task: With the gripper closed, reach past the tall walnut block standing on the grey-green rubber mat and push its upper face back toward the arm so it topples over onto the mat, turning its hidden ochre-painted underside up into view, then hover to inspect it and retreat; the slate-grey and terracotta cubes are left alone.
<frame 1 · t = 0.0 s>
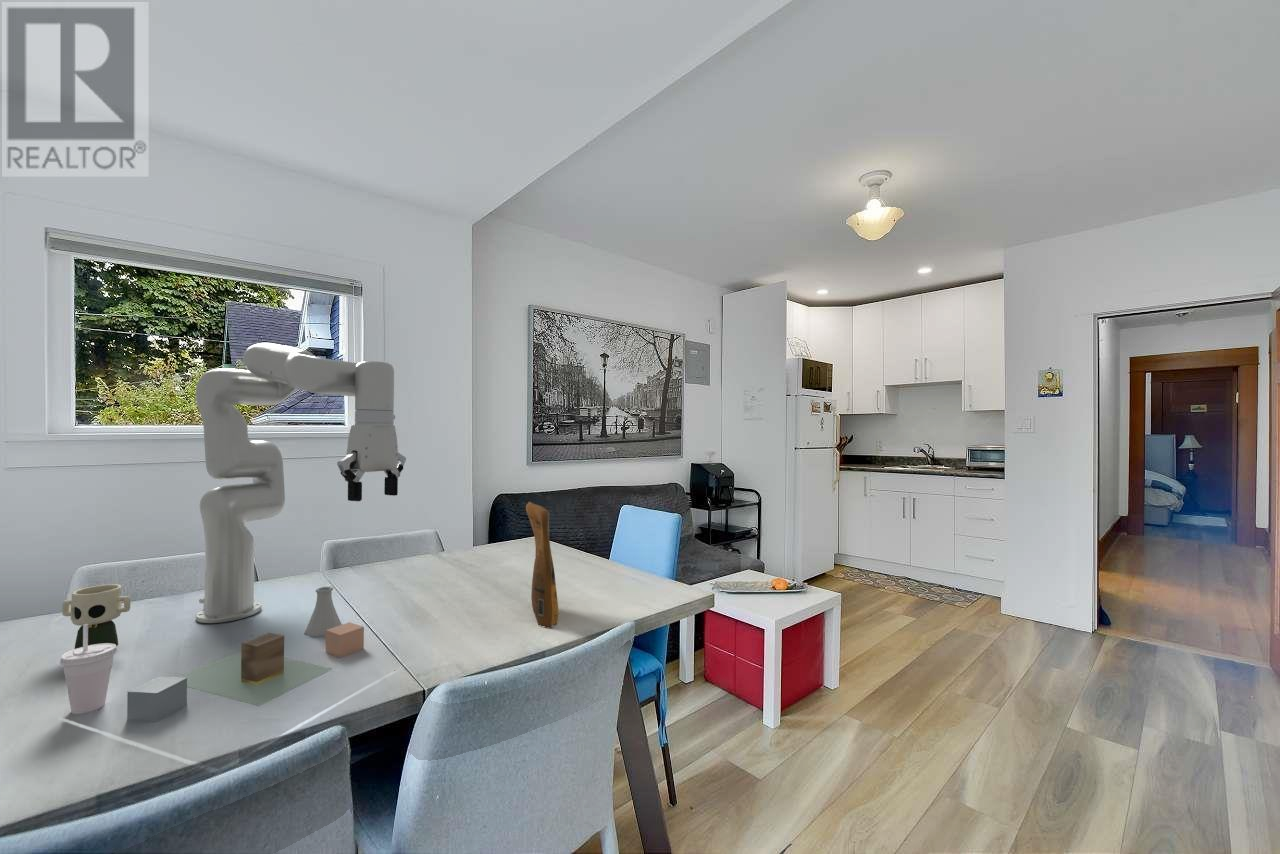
hand: (373, 497, 114), 31 cm above the table, fingers open, 9 cm apart
walnut block: (262, 677, 96), resting on rubber mat
terracotta block: (344, 652, 108), on the table
rubber mat: (251, 676, 97), on the table
smoothie: (88, 711, 86), on the table
character mug: (96, 654, 106), on the table
slate block: (157, 715, 84), on the table
flask: (323, 633, 118), on the table
pancake mix bag: (542, 617, 129), on the table
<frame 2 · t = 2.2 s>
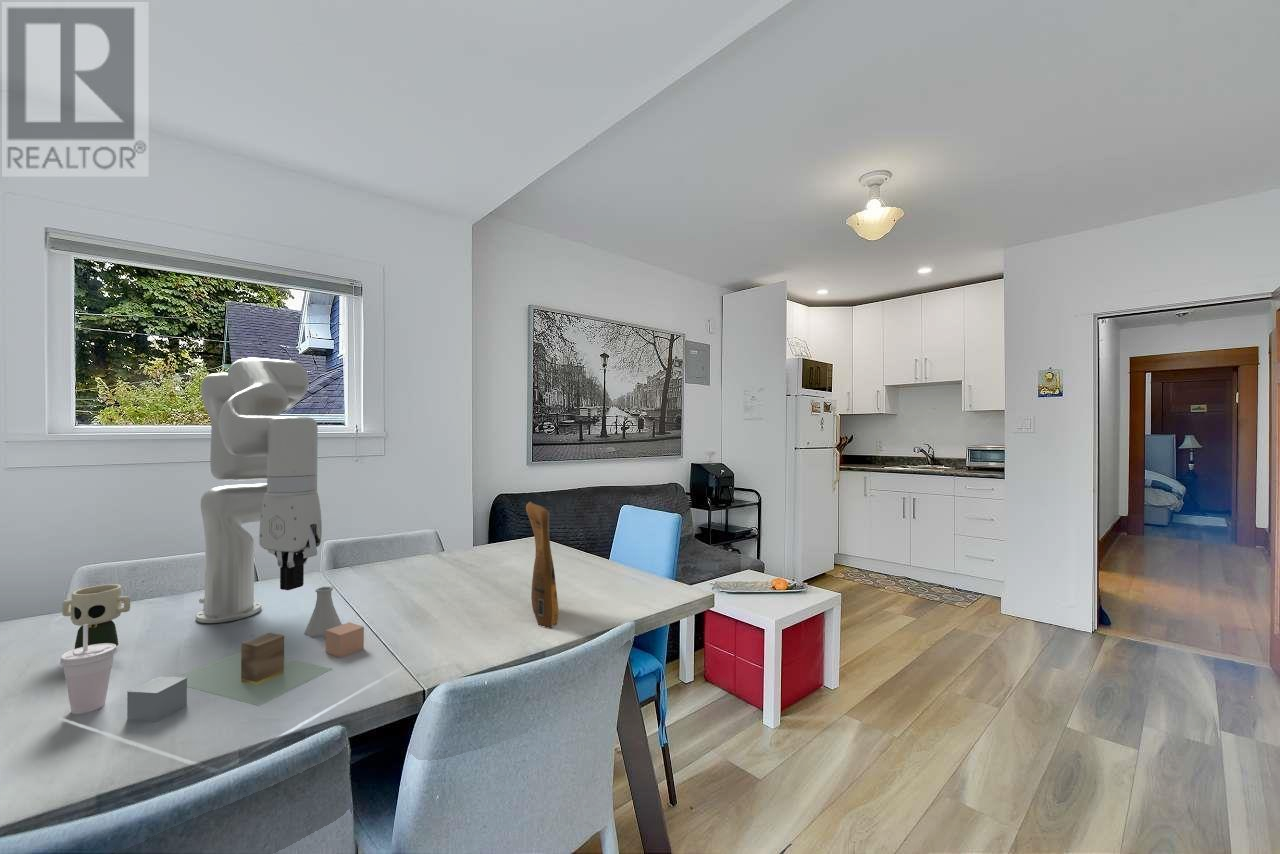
hand: (291, 587, 94), 18 cm above the table, fingers closed
nothing on the table moved.
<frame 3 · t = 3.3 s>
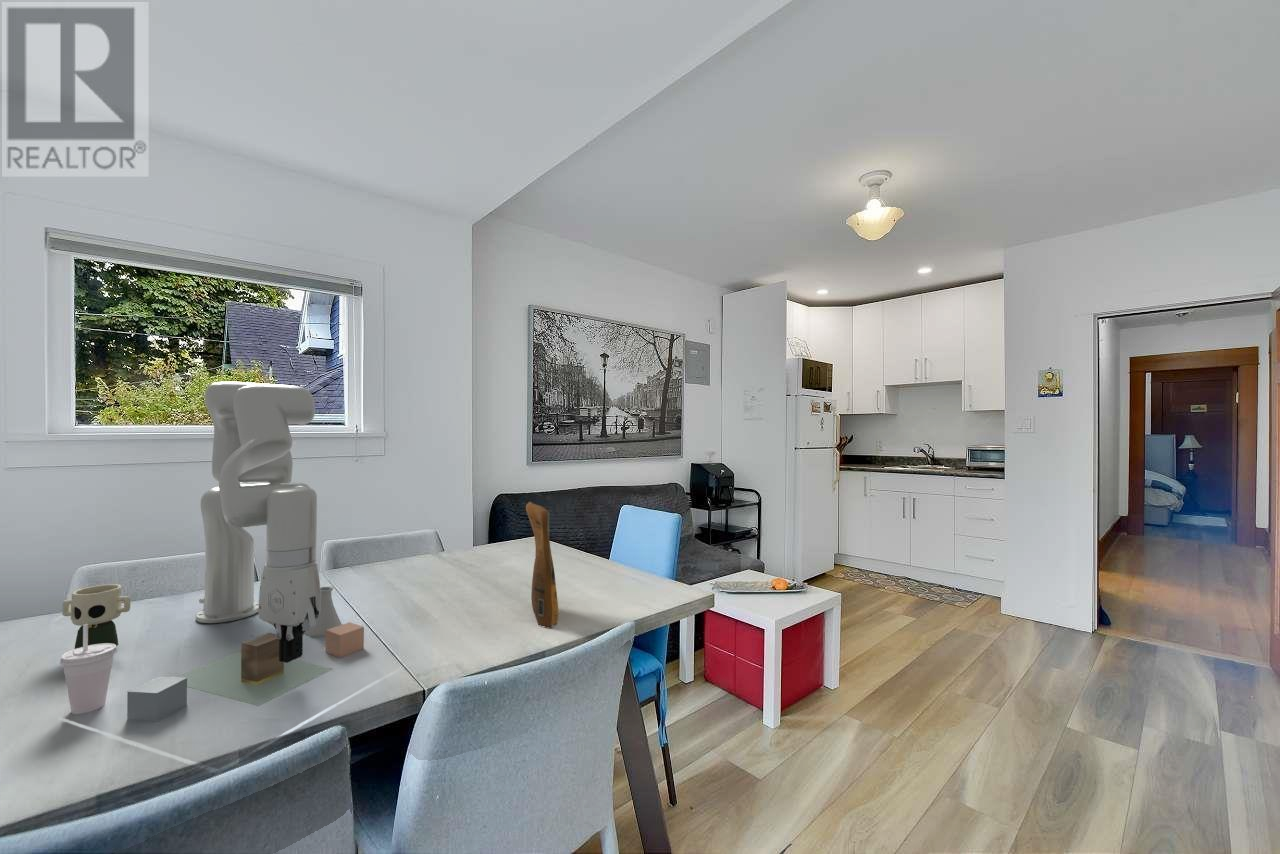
hand: (290, 658, 94), 5 cm above the table, fingers closed
nothing on the table moved.
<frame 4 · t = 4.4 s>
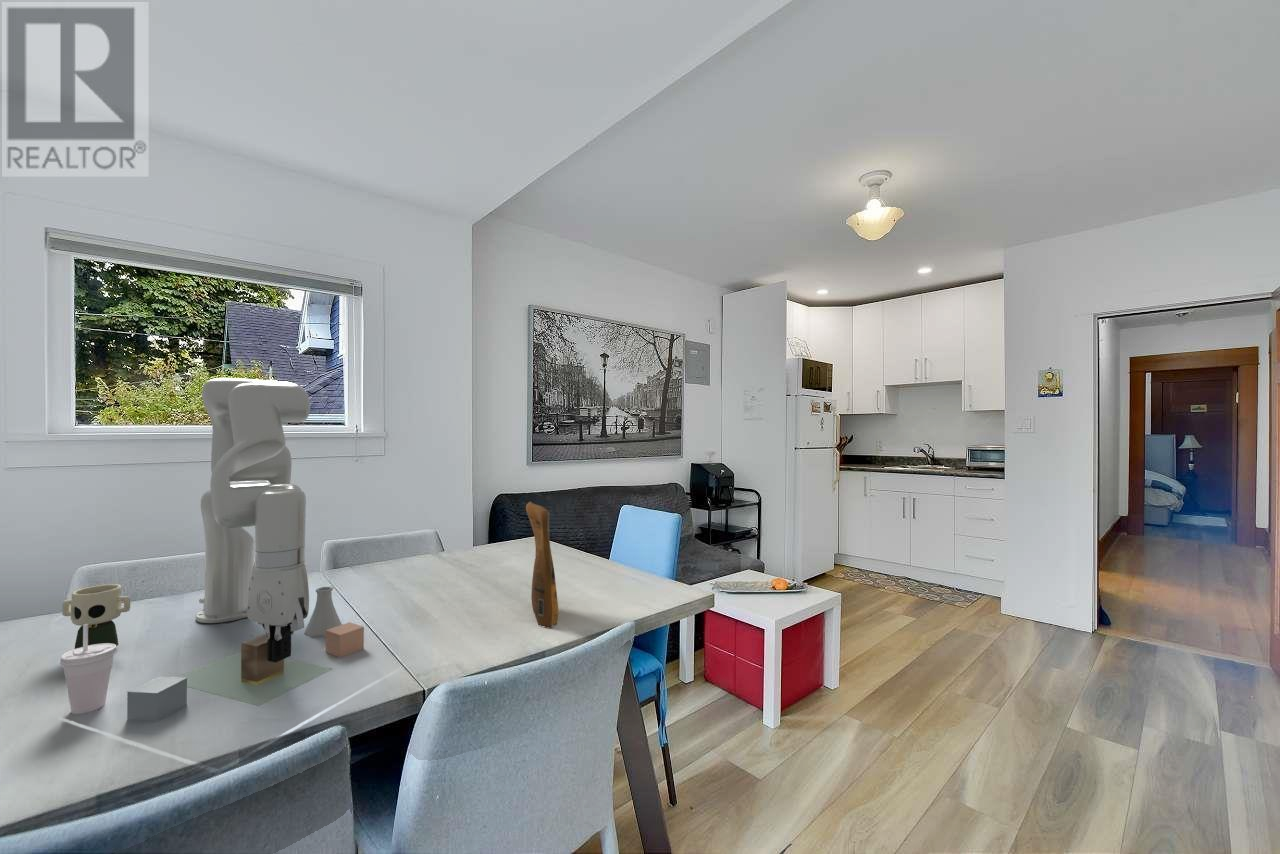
hand: (279, 658, 95), 4 cm above the table, fingers closed
walnut block: (262, 677, 96), resting on rubber mat, touching gripper
everything else where it was.
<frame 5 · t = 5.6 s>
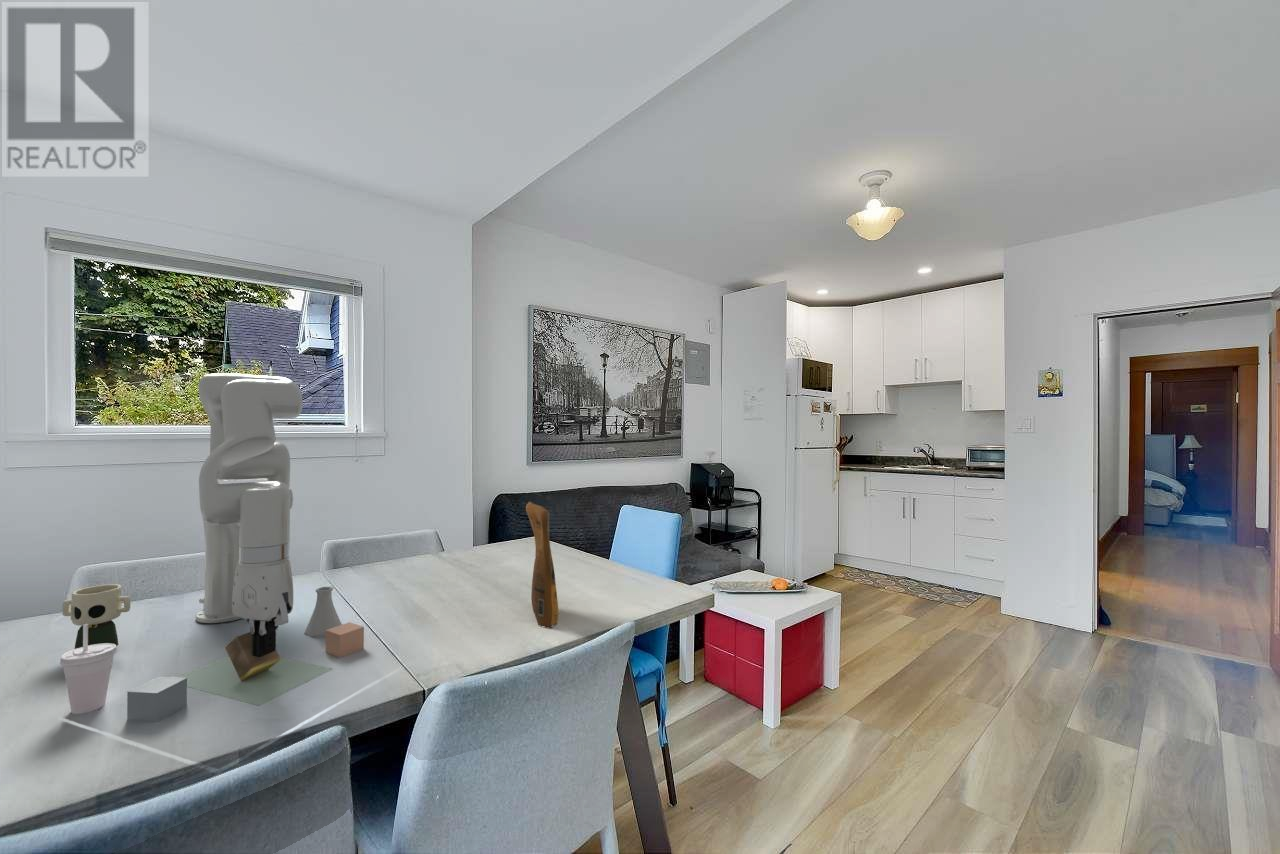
hand: (264, 653, 96), 5 cm above the table, fingers closed
walnut block: (261, 670, 96), point 2 cm above the table, tilted 38°, touching gripper, rubber mat
everything else where it was.
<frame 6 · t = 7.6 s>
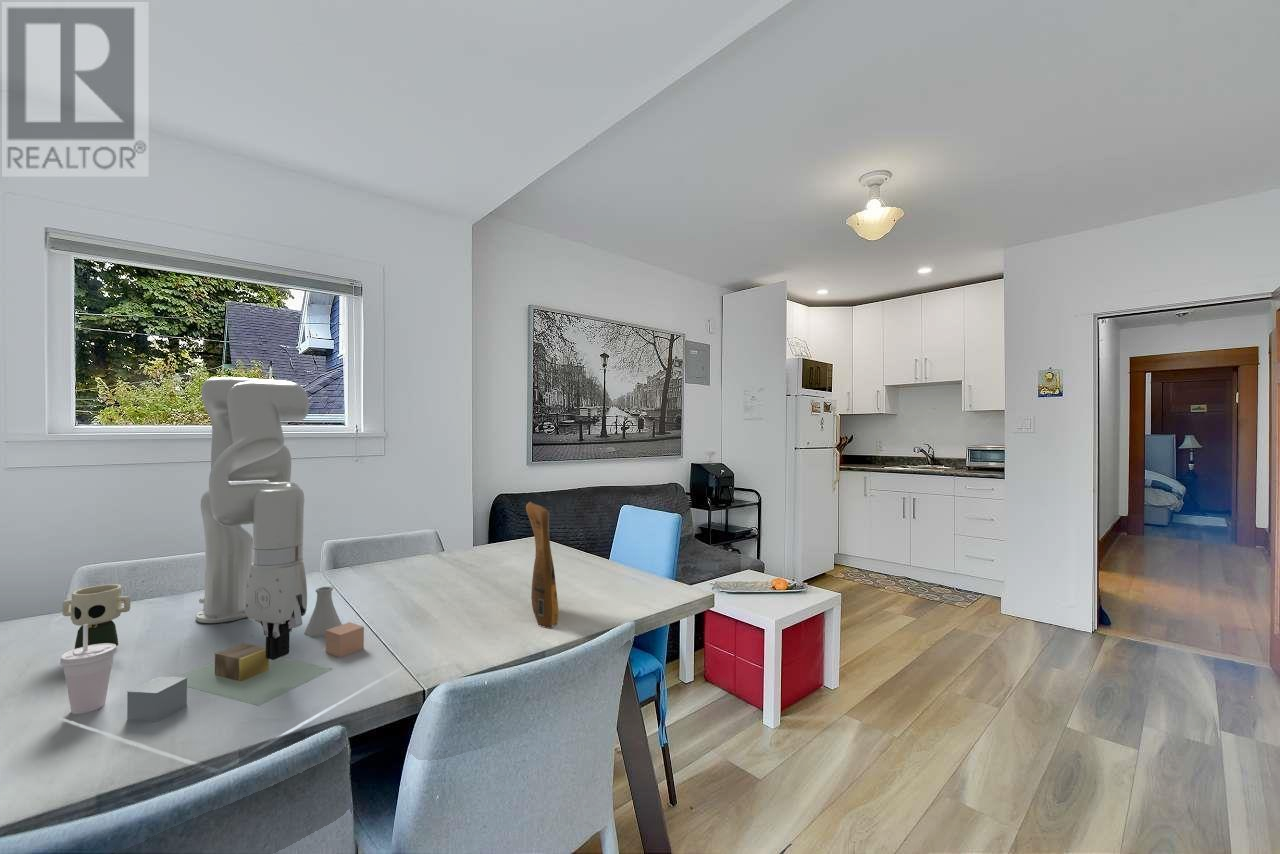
hand: (277, 656, 95), 5 cm above the table, fingers closed
walnut block: (255, 664, 97), point 2 cm above the table, tilted 90°, touching rubber mat
everything else where it was.
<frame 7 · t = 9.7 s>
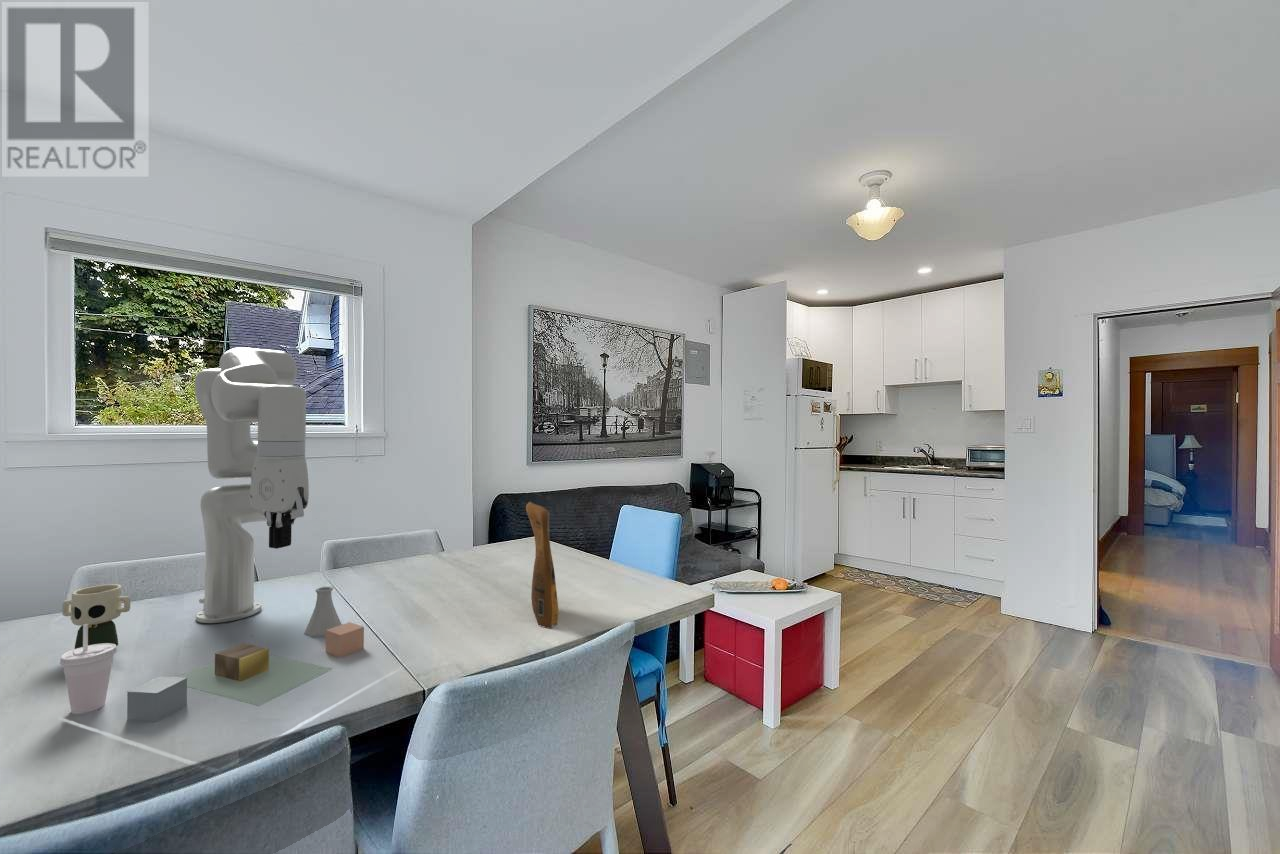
hand: (280, 546, 100), 24 cm above the table, fingers closed
nothing on the table moved.
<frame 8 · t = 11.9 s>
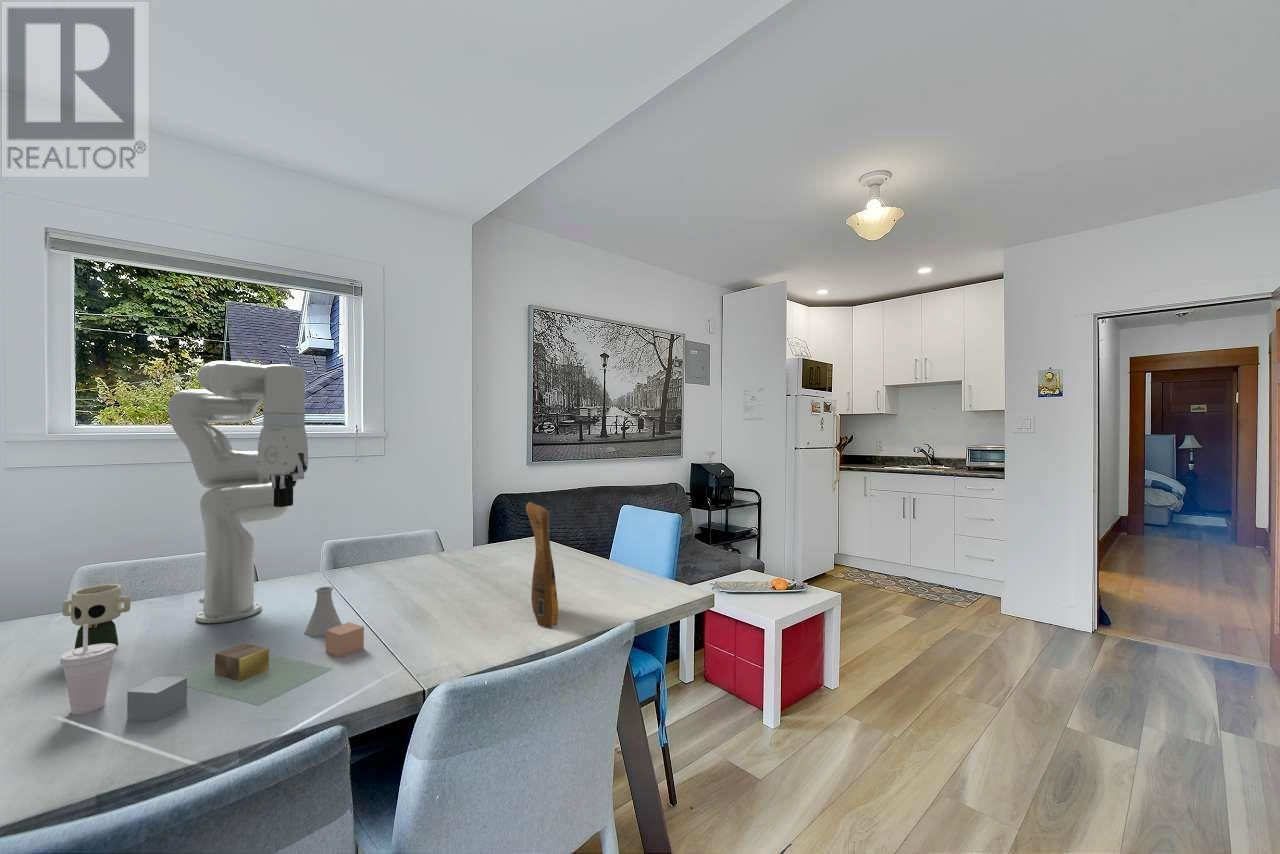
hand: (283, 505, 114), 29 cm above the table, fingers closed
nothing on the table moved.
at the end: walnut block tilted 90°; walnut block inside the target area (0.2 cm from its centre), point 2.4 cm above the table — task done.
